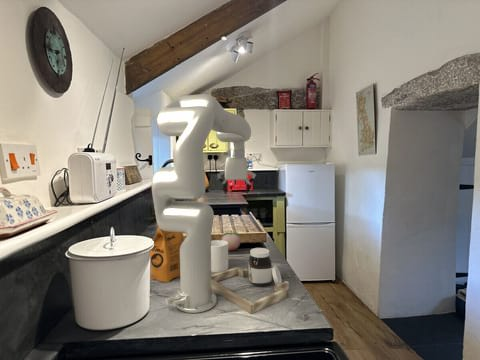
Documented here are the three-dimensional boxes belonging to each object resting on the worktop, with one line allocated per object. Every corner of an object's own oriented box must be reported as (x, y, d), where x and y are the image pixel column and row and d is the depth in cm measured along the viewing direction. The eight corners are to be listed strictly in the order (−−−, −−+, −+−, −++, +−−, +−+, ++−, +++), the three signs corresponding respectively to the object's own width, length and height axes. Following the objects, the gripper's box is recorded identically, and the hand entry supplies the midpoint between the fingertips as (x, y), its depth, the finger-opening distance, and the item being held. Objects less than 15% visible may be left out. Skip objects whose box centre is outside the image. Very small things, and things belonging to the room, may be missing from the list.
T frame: (250, 314, 83) (250, 305, 83) (204, 284, 103) (204, 277, 102) (296, 292, 96) (296, 285, 95) (247, 269, 115) (247, 263, 115)
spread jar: (246, 277, 108) (246, 247, 107) (275, 274, 111) (275, 245, 110) (254, 292, 97) (254, 258, 96) (286, 288, 99) (286, 255, 98)
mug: (235, 263, 122) (234, 239, 121) (222, 274, 111) (222, 247, 110) (217, 261, 125) (216, 237, 125) (203, 271, 114) (202, 244, 113)
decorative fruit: (223, 255, 133) (223, 233, 132) (220, 249, 141) (220, 229, 140) (243, 253, 135) (242, 232, 135) (239, 247, 143) (238, 228, 143)
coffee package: (146, 279, 107) (144, 221, 105) (169, 267, 118) (167, 215, 116) (166, 284, 103) (164, 224, 101) (188, 272, 113) (187, 217, 112)
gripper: (215, 154, 123) (216, 194, 124) (256, 154, 123) (256, 194, 124) (217, 154, 130) (217, 192, 132) (255, 154, 130) (255, 191, 132)
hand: (236, 192), depth 128 cm, fingers open, 9 cm apart
